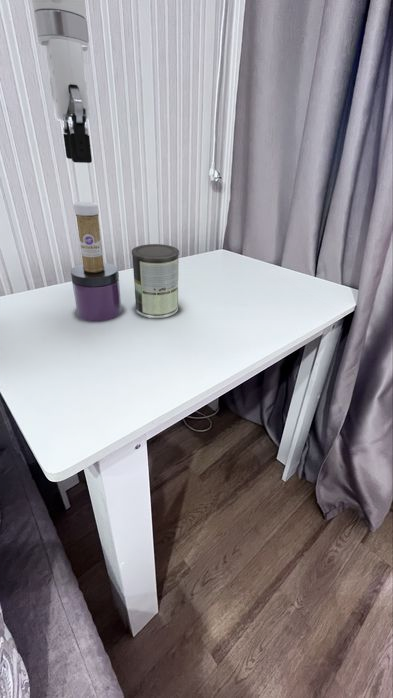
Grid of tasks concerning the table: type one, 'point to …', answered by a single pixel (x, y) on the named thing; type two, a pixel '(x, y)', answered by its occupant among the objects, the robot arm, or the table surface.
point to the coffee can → (156, 280)
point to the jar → (98, 301)
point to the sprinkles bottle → (89, 236)
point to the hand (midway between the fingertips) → (78, 160)
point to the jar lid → (94, 276)
